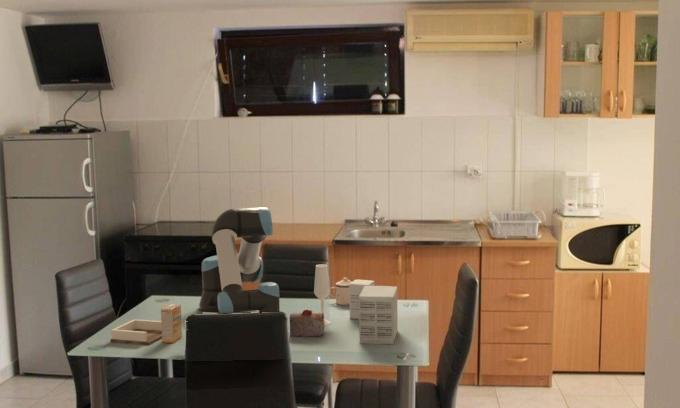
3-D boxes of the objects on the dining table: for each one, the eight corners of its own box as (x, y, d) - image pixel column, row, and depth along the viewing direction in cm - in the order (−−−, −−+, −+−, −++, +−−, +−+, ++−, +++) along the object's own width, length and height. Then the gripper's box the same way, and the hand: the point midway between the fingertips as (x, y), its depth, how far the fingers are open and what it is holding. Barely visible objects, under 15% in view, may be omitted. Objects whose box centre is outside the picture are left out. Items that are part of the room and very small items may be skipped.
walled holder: (171, 332, 274) (171, 321, 274) (149, 345, 259) (149, 333, 258) (134, 329, 279) (134, 318, 278) (110, 341, 264) (109, 330, 263)
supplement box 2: (355, 313, 298) (355, 278, 297) (375, 314, 295) (375, 280, 294) (348, 318, 290) (348, 283, 288) (369, 320, 287) (368, 284, 285)
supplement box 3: (364, 330, 273) (364, 285, 271) (398, 331, 271) (397, 285, 269) (358, 343, 256) (357, 295, 254) (394, 344, 254) (393, 296, 252)
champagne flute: (325, 326, 280) (324, 267, 277) (311, 323, 283) (310, 266, 280) (333, 321, 285) (332, 264, 283) (319, 319, 289) (318, 263, 286)
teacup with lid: (356, 300, 320) (356, 275, 318) (354, 305, 311) (353, 280, 310) (330, 300, 321) (330, 275, 320) (327, 305, 312) (327, 279, 311)
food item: (325, 331, 272) (325, 307, 271) (324, 338, 264) (323, 312, 263) (291, 332, 272) (290, 307, 271) (288, 338, 265) (287, 313, 264)
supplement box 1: (173, 343, 261) (172, 309, 259) (161, 342, 262) (160, 308, 260) (182, 336, 269) (181, 303, 267) (171, 336, 270) (169, 303, 268)
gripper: (231, 343, 243) (177, 339, 250) (259, 324, 267) (210, 321, 273) (230, 323, 243) (176, 319, 249) (259, 305, 266) (209, 302, 273)
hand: (194, 320), depth 261 cm, fingers open, 13 cm apart
